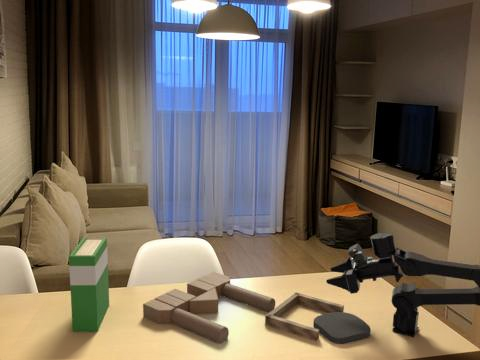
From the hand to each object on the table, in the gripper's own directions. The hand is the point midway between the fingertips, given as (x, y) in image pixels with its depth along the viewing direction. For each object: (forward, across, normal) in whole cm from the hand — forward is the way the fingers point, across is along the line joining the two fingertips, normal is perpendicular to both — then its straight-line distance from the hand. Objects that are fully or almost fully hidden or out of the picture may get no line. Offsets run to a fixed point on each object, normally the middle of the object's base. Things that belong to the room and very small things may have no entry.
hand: (328, 275), depth 160 cm
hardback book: (+71, +28, -9) cm, 77 cm away
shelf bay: (+9, +5, +12) cm, 16 cm away
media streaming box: (-1, +8, +16) cm, 18 cm away
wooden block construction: (+39, +10, +3) cm, 40 cm away
